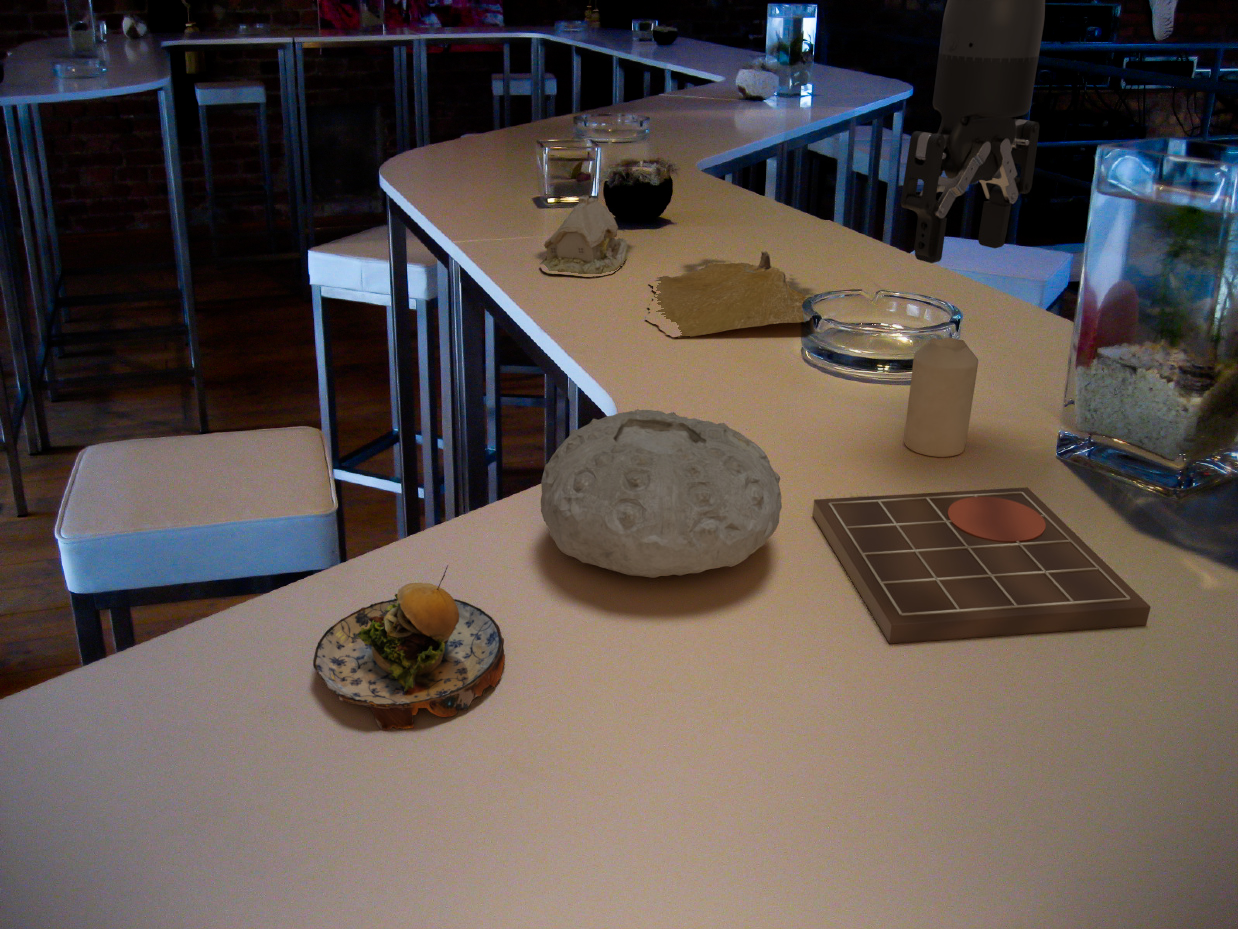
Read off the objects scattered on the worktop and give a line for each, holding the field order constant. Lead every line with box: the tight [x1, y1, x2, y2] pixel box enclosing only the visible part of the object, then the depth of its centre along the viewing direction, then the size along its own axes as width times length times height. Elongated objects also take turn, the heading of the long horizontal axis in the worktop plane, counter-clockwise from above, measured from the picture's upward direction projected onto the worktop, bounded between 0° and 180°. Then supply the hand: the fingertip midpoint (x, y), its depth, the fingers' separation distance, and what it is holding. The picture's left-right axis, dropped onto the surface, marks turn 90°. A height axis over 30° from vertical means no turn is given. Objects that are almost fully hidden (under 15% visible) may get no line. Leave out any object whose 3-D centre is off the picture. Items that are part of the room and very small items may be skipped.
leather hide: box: [655, 251, 808, 337], centre depth 138 cm, size 29×26×5 cm
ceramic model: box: [540, 194, 629, 274], centre depth 154 cm, size 14×11×10 cm
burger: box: [312, 565, 506, 731], centre depth 67 cm, size 12×12×8 cm
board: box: [812, 486, 1151, 645], centre depth 80 cm, size 18×18×2 cm
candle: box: [903, 337, 979, 458], centre depth 98 cm, size 6×6×10 cm
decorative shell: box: [540, 408, 783, 579], centre depth 80 cm, size 18×18×10 cm
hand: (959, 253), depth 92 cm, fingers open, 8 cm apart
